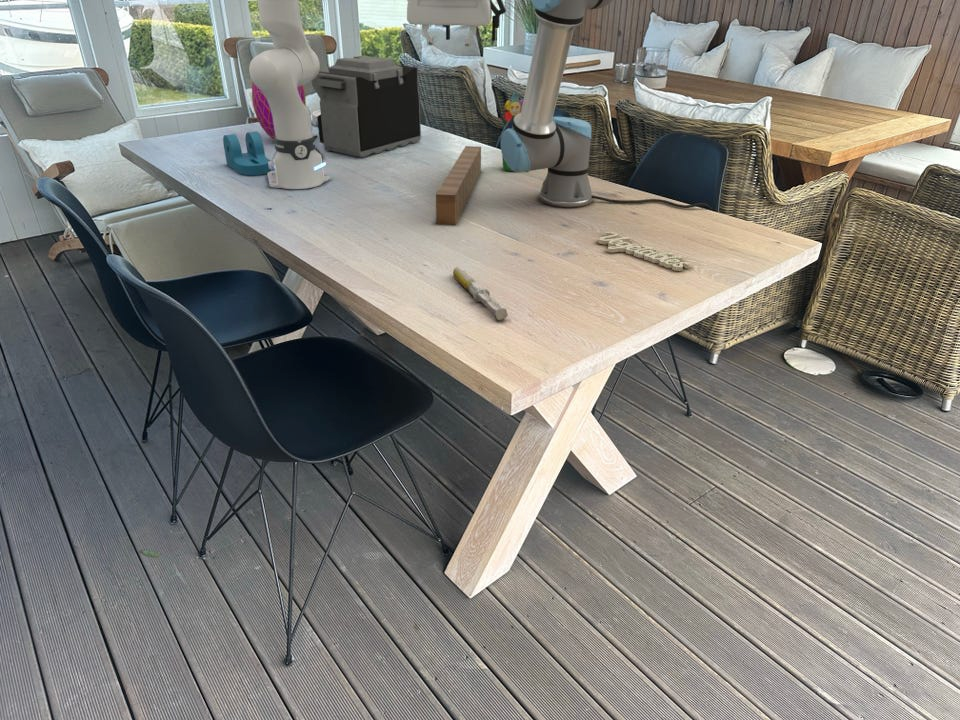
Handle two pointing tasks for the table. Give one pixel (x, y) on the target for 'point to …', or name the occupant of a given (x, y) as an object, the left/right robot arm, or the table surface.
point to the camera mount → (246, 154)
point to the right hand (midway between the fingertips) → (470, 40)
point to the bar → (458, 186)
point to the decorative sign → (642, 251)
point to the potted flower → (513, 110)
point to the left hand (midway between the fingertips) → (449, 45)
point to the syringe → (479, 293)
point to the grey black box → (368, 105)
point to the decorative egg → (267, 109)
